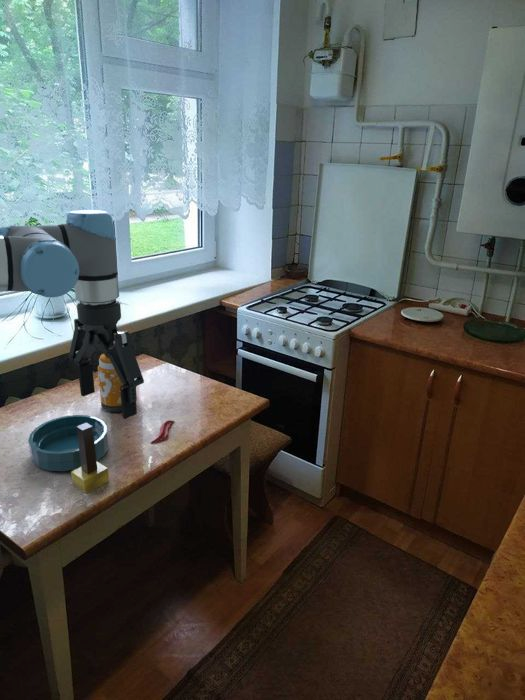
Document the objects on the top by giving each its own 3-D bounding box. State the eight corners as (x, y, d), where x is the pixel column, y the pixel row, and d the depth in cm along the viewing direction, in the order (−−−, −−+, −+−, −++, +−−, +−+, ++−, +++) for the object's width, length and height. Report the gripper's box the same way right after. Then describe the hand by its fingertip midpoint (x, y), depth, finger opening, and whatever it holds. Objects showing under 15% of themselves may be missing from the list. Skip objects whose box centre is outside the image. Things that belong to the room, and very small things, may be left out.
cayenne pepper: (157, 445, 125) (157, 439, 124) (142, 441, 127) (142, 434, 126) (184, 424, 135) (184, 418, 134) (170, 420, 137) (170, 414, 136)
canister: (95, 406, 143) (88, 341, 136) (127, 394, 151) (123, 332, 144) (113, 417, 138) (107, 350, 130) (145, 403, 146) (142, 340, 138)
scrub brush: (85, 494, 107) (78, 436, 101) (72, 484, 109) (65, 427, 104) (109, 481, 111) (103, 424, 106) (95, 472, 114) (89, 417, 109)
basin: (58, 483, 110) (55, 462, 108) (17, 454, 119) (14, 434, 117) (123, 450, 123) (121, 431, 121) (82, 426, 133) (80, 408, 130)
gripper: (160, 309, 85) (165, 418, 92) (77, 283, 99) (88, 379, 107) (123, 319, 79) (132, 434, 87) (42, 290, 93) (55, 391, 101)
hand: (108, 404), depth 97 cm, fingers open, 13 cm apart
